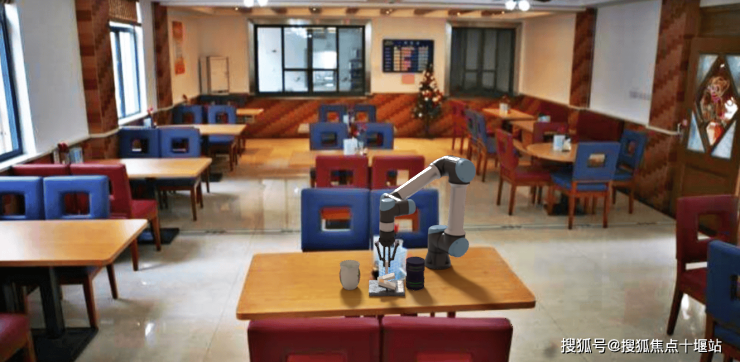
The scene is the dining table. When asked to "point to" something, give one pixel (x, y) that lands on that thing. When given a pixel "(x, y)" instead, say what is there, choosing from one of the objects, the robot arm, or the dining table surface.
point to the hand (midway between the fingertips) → (386, 272)
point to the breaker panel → (386, 289)
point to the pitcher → (349, 274)
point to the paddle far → (388, 276)
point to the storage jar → (415, 273)
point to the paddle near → (386, 283)
